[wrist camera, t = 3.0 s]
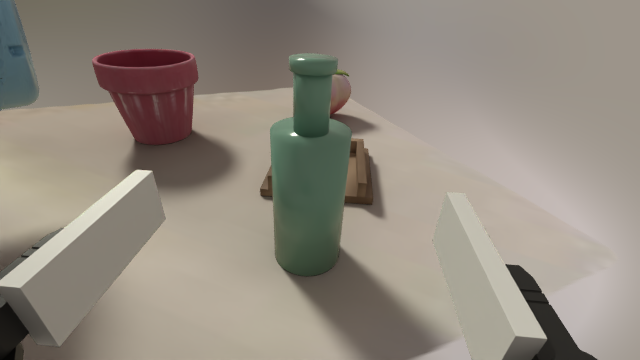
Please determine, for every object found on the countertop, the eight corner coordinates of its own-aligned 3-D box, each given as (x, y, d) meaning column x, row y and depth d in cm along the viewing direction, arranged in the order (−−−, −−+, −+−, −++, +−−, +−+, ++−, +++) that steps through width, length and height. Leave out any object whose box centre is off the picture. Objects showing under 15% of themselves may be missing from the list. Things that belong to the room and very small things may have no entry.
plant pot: (207, 147, 50) (194, 64, 44) (108, 157, 46) (76, 67, 40) (206, 117, 62) (195, 47, 55) (126, 122, 58) (104, 48, 51)
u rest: (260, 195, 39) (259, 174, 38) (281, 147, 51) (281, 130, 50) (372, 204, 39) (375, 184, 37) (367, 154, 51) (369, 137, 49)
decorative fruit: (329, 106, 71) (332, 59, 66) (355, 116, 66) (360, 67, 60) (295, 113, 66) (295, 64, 60) (320, 126, 60) (323, 72, 55)
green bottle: (268, 272, 29) (256, 64, 19) (281, 227, 34) (277, 47, 25) (337, 279, 29) (360, 71, 19) (339, 232, 34) (358, 52, 24)
